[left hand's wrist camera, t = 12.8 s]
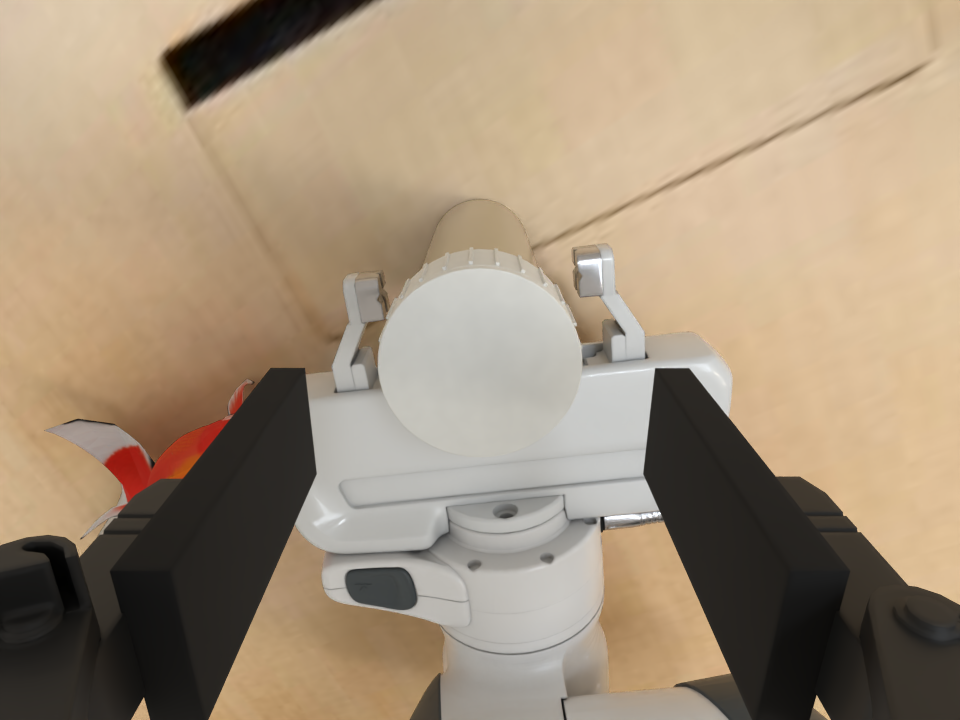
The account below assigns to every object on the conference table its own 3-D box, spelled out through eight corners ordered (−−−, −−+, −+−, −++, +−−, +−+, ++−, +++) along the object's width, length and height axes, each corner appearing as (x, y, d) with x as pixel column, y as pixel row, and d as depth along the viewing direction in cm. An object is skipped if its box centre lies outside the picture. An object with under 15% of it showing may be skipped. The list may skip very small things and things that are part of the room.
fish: (372, 560, 33) (207, 668, 25) (193, 557, 41) (23, 638, 33) (326, 361, 33) (142, 401, 24) (154, 398, 41) (-29, 438, 32)
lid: (533, 214, 18) (540, 229, 16) (598, 383, 20) (614, 418, 18) (354, 290, 19) (337, 315, 17) (434, 445, 21) (428, 486, 19)
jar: (506, 183, 31) (528, 250, 17) (541, 272, 32) (589, 404, 18) (416, 222, 31) (364, 319, 17) (455, 307, 33) (437, 460, 19)
